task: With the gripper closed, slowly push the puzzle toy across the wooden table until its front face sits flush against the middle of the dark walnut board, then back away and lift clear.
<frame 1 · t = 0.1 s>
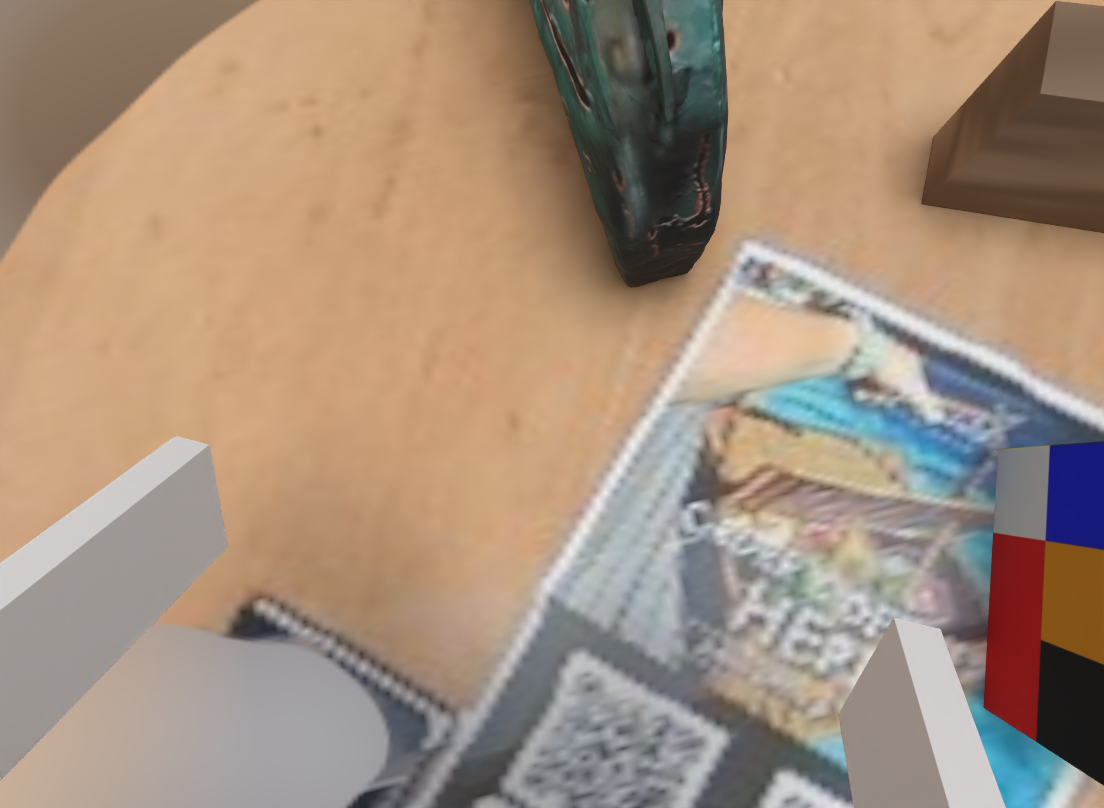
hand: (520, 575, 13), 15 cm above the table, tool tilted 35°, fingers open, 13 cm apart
ceramic cat: (609, 93, 30), on the table
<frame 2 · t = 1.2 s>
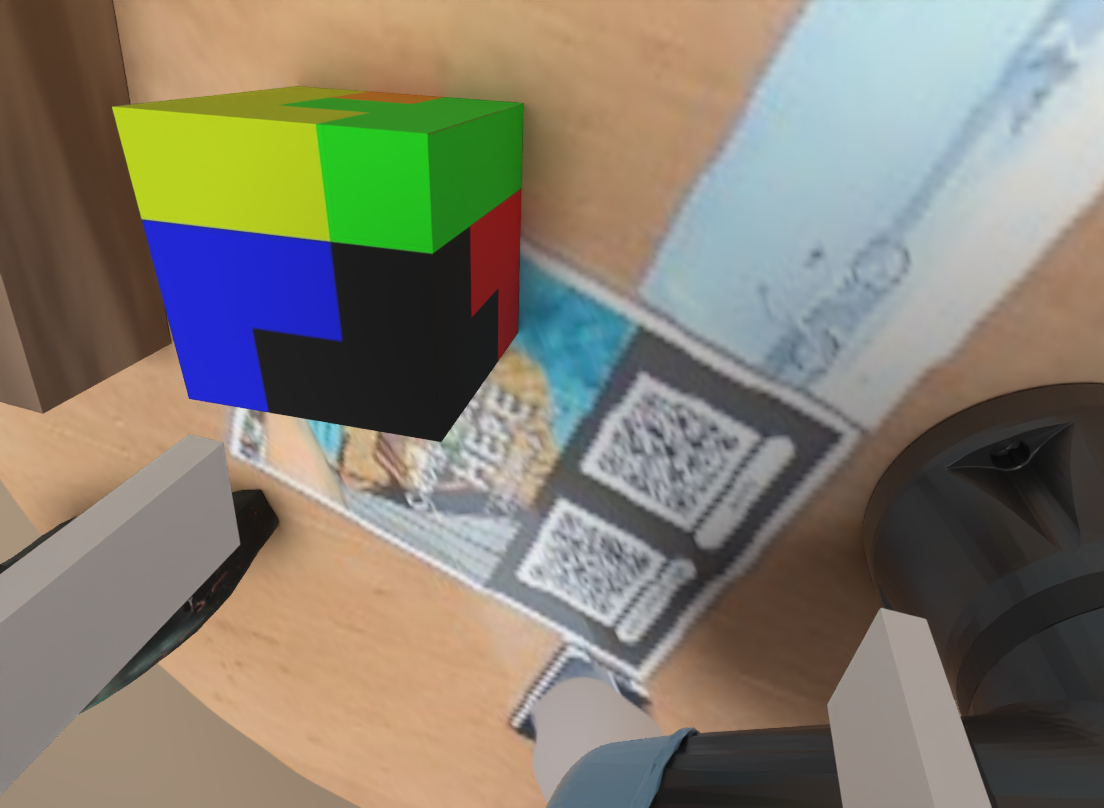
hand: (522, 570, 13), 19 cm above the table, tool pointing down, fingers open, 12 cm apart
ceramic cat: (165, 517, 44), on the table
puzzle toy: (416, 214, 30), on the table
walnut board: (111, 150, 31), on the table
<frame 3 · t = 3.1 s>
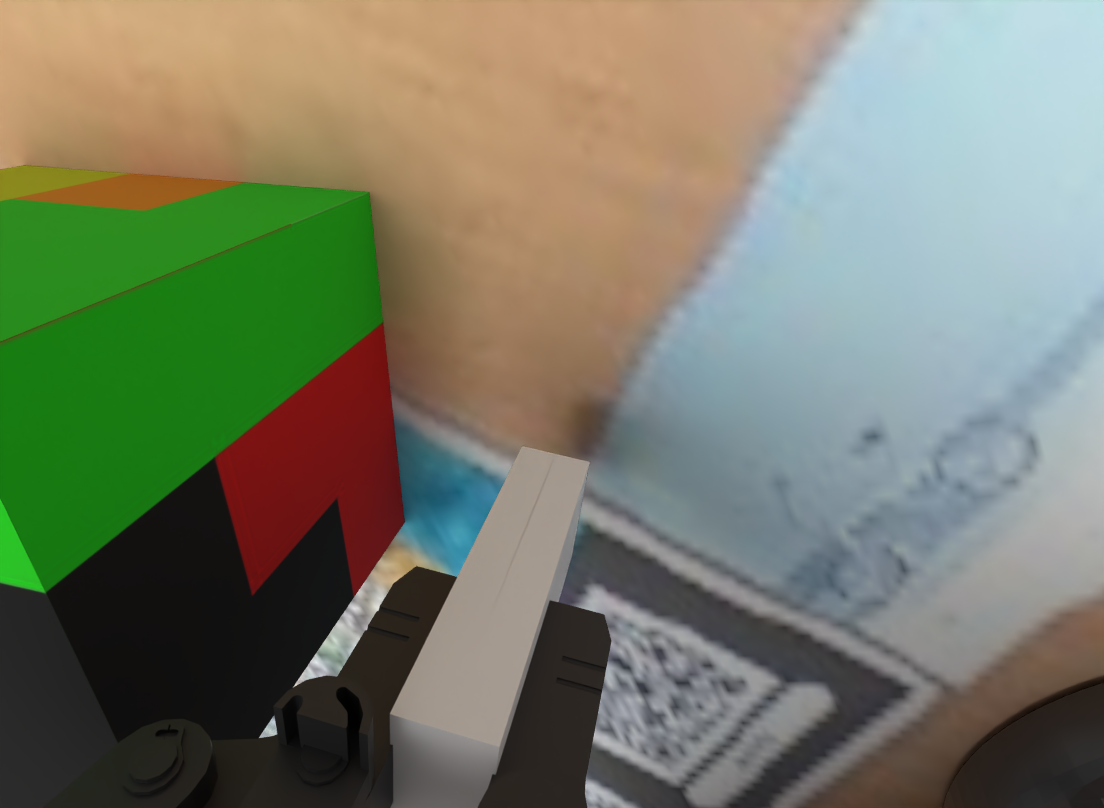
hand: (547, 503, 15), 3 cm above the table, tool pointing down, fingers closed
puzzle toy: (235, 354, 19), on the table
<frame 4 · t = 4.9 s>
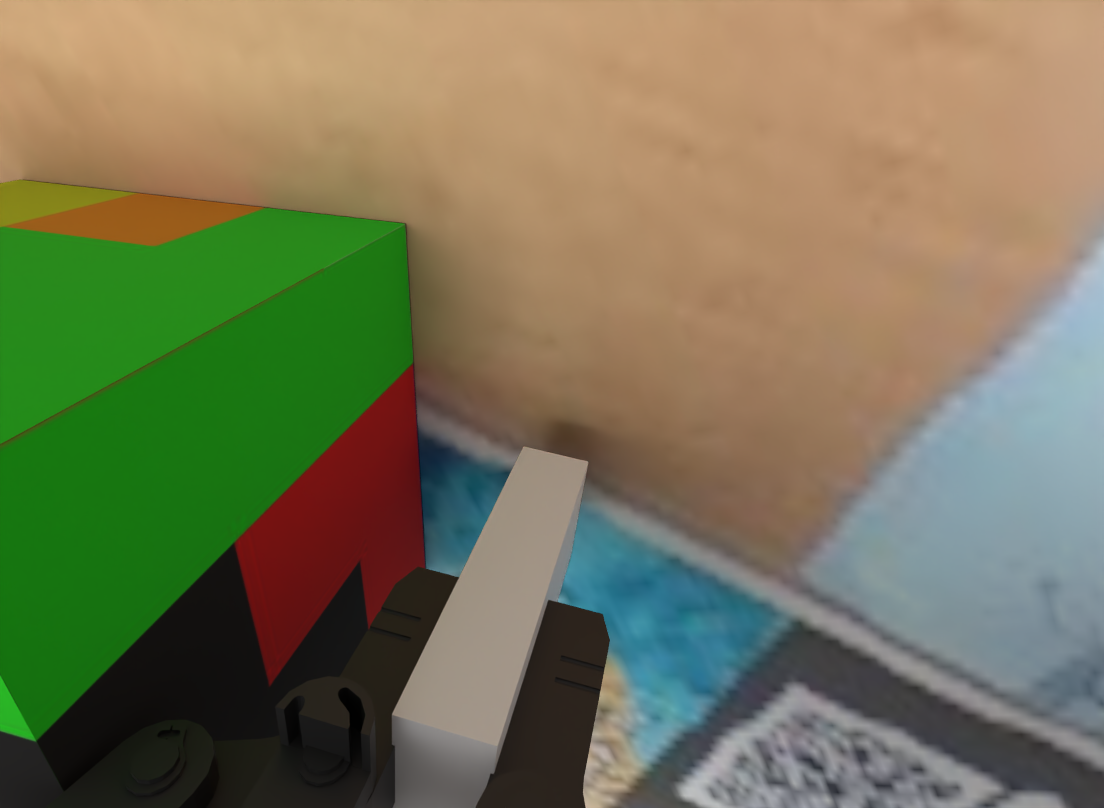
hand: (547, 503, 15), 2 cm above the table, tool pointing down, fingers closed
puzzle toy: (245, 389, 18), on the table, touching hand
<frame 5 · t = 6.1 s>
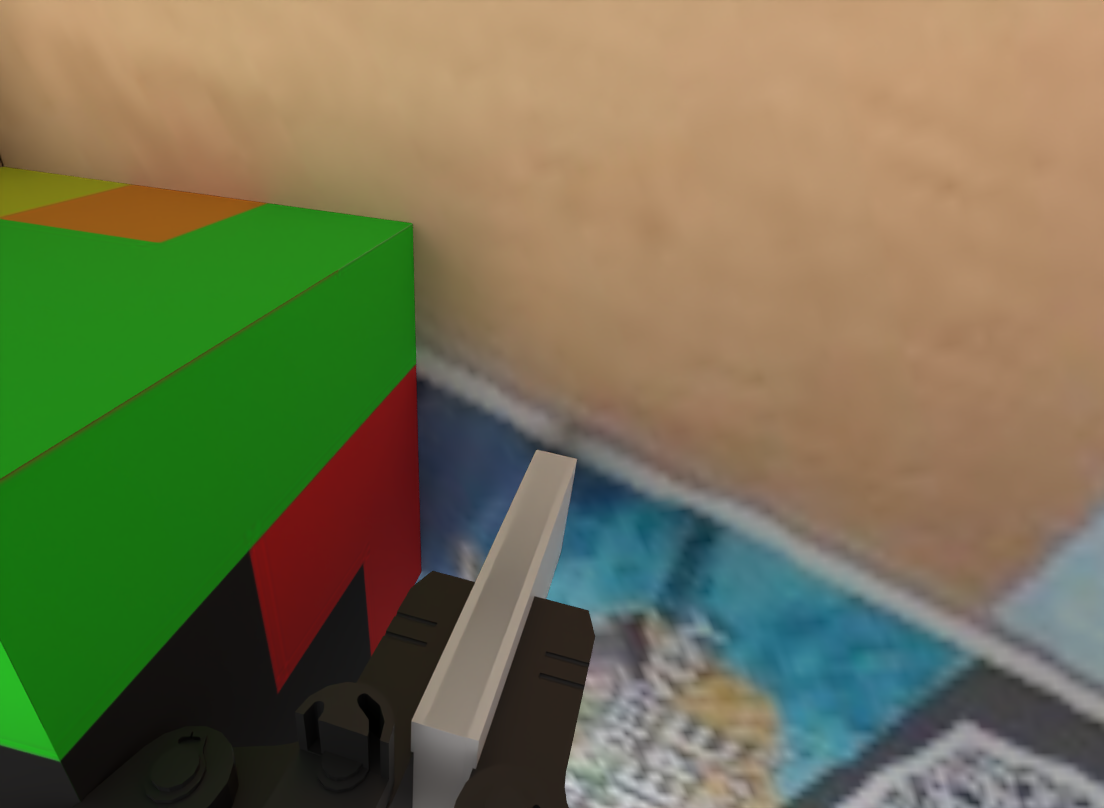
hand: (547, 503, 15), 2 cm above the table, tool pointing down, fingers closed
puzzle toy: (240, 386, 17), on the table, touching hand, walnut board
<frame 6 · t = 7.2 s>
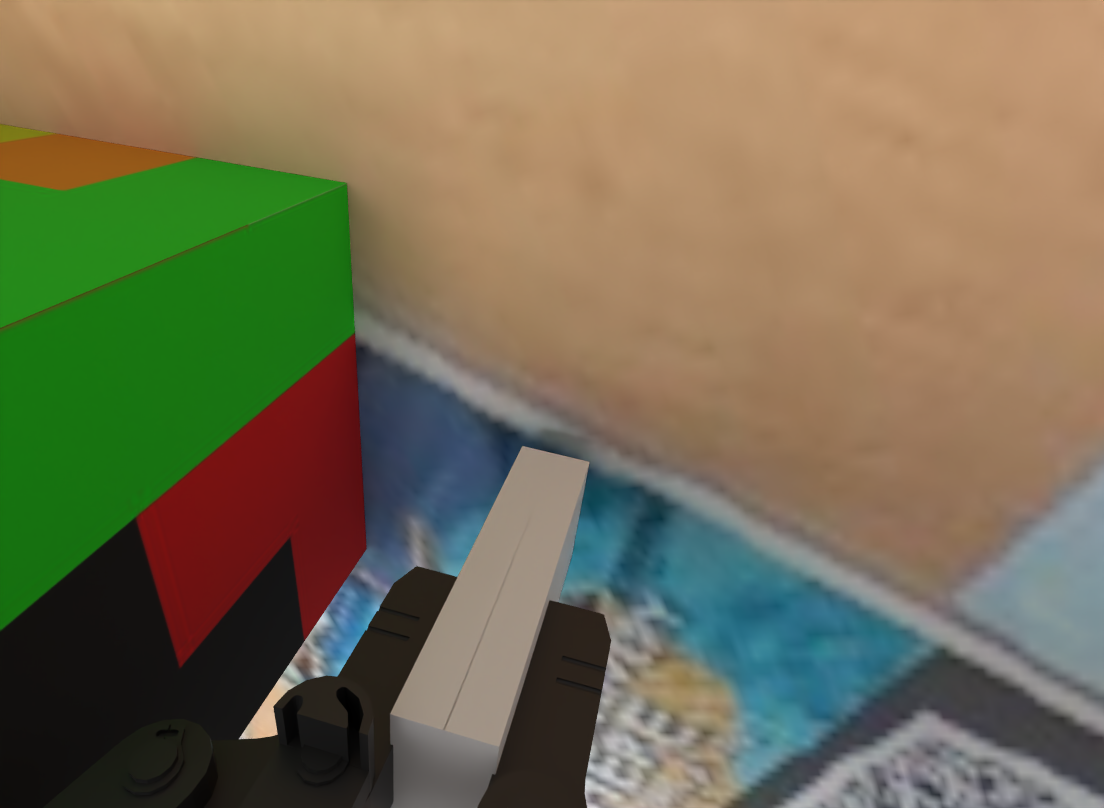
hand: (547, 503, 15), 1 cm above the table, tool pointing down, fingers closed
puzzle toy: (179, 351, 17), on the table
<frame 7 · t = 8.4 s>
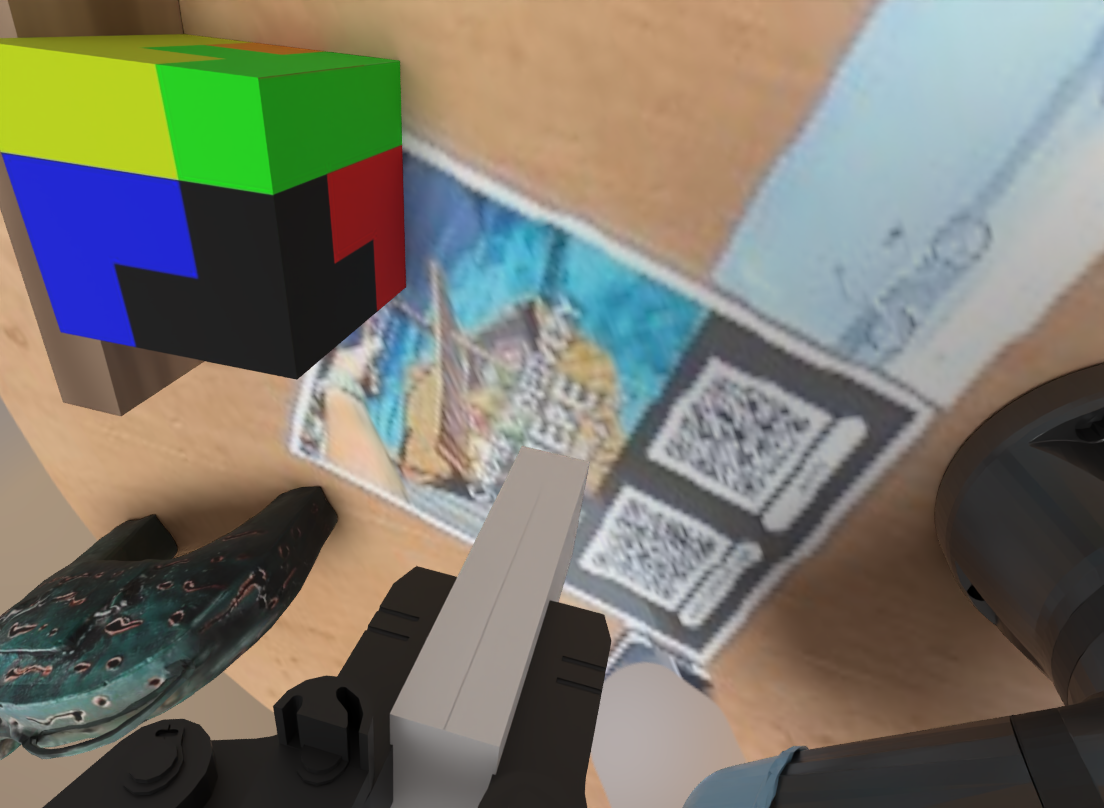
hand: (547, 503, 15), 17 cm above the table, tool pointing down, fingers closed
ceramic cat: (222, 516, 44), on the table
puzzle toy: (305, 167, 31), on the table
walnut board: (174, 151, 31), on the table
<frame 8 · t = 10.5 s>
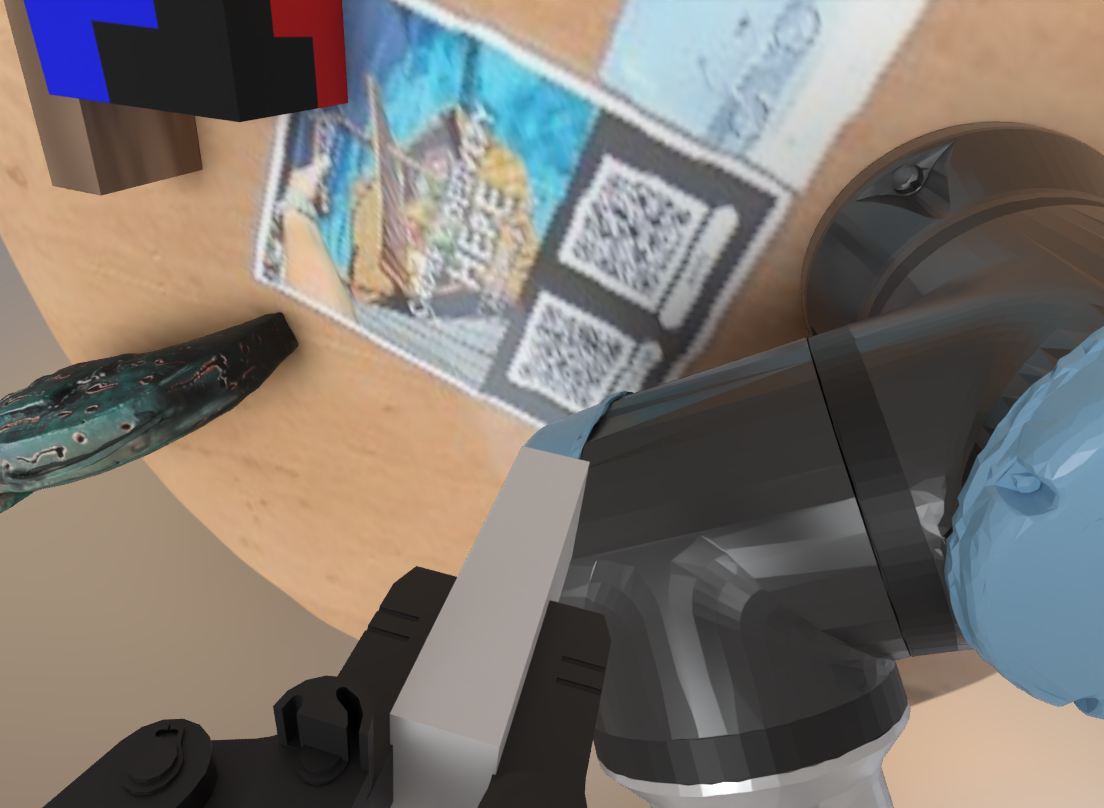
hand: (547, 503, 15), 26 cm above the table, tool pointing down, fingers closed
ceramic cat: (197, 352, 50), on the table
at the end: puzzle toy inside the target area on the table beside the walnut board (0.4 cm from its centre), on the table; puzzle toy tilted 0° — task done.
